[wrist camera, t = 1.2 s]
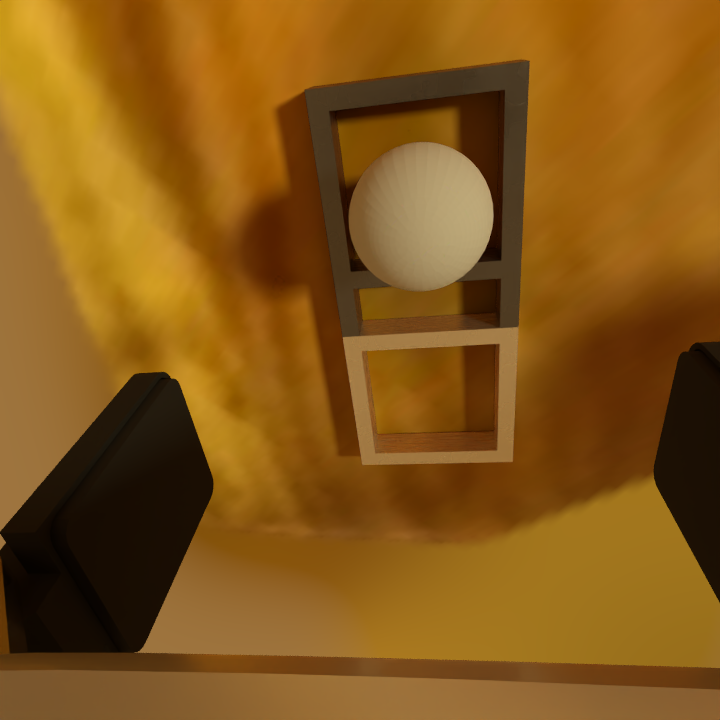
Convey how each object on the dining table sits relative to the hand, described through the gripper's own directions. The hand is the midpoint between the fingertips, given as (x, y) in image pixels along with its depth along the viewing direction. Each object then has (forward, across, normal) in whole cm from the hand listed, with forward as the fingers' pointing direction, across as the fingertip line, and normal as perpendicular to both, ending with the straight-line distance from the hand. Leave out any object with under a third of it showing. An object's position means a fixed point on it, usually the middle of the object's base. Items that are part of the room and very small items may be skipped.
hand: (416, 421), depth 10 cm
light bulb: (+21, 0, 0) cm, 21 cm away
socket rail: (+20, 0, +6) cm, 21 cm away
